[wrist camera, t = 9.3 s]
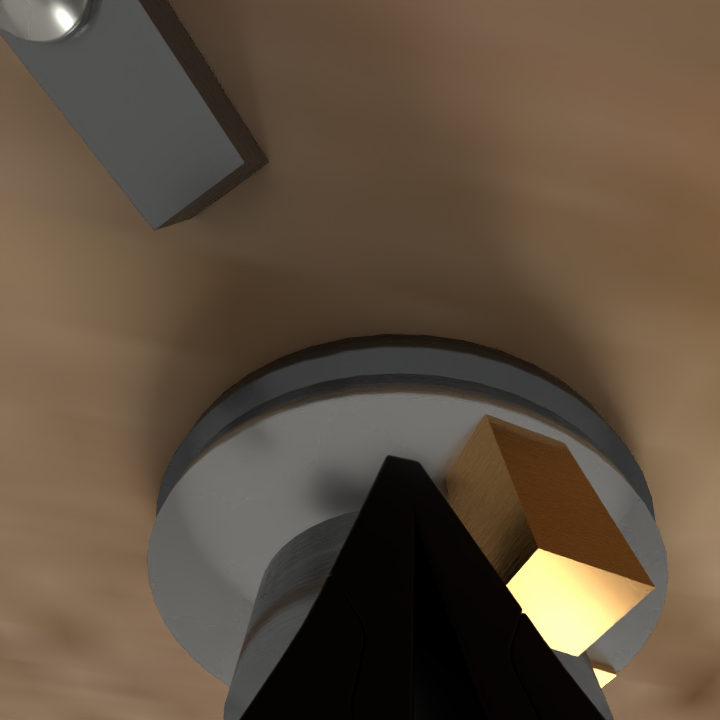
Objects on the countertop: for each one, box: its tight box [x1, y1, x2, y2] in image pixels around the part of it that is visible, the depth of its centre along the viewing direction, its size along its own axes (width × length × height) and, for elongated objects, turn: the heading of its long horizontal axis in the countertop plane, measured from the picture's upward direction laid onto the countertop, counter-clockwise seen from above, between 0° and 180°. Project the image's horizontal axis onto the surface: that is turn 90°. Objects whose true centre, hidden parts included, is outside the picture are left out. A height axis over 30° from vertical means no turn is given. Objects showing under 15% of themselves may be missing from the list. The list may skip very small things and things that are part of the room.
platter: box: [147, 373, 668, 688], centre depth 11 cm, size 15×15×5 cm
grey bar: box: [0, 0, 269, 230], centre depth 8 cm, size 6×2×2 cm, turn 31°
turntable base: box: [156, 334, 655, 521], centre depth 14 cm, size 16×16×1 cm
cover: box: [224, 511, 613, 720], centre depth 11 cm, size 9×9×3 cm
